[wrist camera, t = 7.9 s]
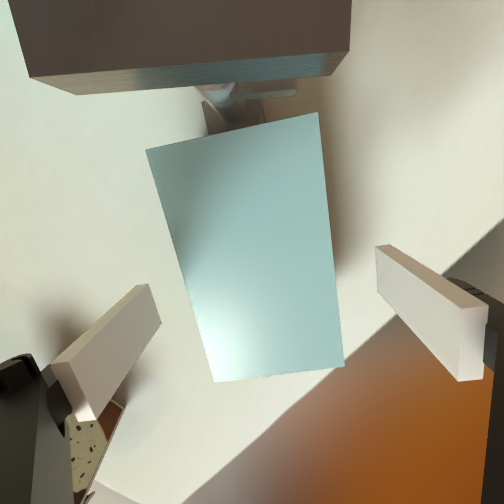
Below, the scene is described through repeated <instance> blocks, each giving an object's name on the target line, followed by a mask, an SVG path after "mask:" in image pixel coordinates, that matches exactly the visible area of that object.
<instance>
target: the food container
mask: <svg viewBox="0 0 504 504" xmlns="http://www.w3.org/2000/svg"><path fill="white" fill-rule="evenodd" d="M124 410H125V408H124V407H123V406H121V405H120V404H118V403H117V402H116V401H114V400H113V399H110V401H109V402H108V404H107V405H106V407H105V408H104V410H103V411H102V413H101V414H100V415H99V417H98V418H97V420H91V421H82V422H78V420H77V418H76V416H75V414H74V412H73V410H72V411H71V412H70V414H69V415H68V416H67V417H66V421H67V423H68V425H69V431H70V447H71V464H72V480H73V496H74V504H88V502H89V501H90V499H91V498H92V497H93V495H94V494H95V491H94V492H92V493H91V494H89V495H87V493H88V491H89V489H90V487H91V485H92V482H93V480H94V478H95V475H96V473H97V471H98V469H99V466H100V464H101V462H102V460H103V457H104V455H105V453H106V451H107V448H108V446H109V444H110V442H111V439H112V437H113V435H114V433H115V430H116V428H117V426H118V423H119V421H120V419H121V417H122V414H123V412H124Z"/></svg>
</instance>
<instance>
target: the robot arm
mask: <svg viewBox="0 0 504 504" xmlns="http://www.w3.org/2000/svg"><path fill="white" fill-rule="evenodd" d="M375 256H376V274H377V291H378V293H379V294H380V295H381V296H382V297H383V299H384V300H385V301H386V302H387V303H388V304H389V305H390V306H391V307H392V309H393V310H394V311H395V312H396V313H397V314H398V315H399V316H400V317H401V318H402V320H403V321H404V322H405V323H406V324H407V325H408V326H409V327H410V329H411V330H412V331H413V332H414V333H415V334H416V335H417V336H418V337H419V338H420V340H421V341H422V342H423V343H424V344H425V345H426V346H427V347H428V349H429V350H430V351H431V352H432V353H433V354H434V355H435V356H436V357H437V359H438V360H439V361H440V362H441V363H442V364H443V365H444V366H445V367H446V368H447V370H448V371H449V372H450V373H451V374H452V375H453V376H454V377H455V379H456V380H457V381H467V380H476V379H483V370H484V364H486V365H487V366H488V367H489V368H490V369H491V370H492V371H493V372H494V380H493V390H492V400H491V409H490V419H489V428H488V438H487V448H486V457H485V467H484V477H483V487H482V497H481V504H504V304H503V303H501V302H500V301H498V300H496V299H494V298H493V297H491V296H489V295H487V294H484V292H482V291H480V290H479V289H476V288H475V287H473V286H472V285H470V284H468V283H466V282H464V281H461V280H458V279H454V278H444V277H442V276H440V275H439V274H437V273H435V272H434V271H432V270H431V269H429V268H427V267H426V266H424V265H422V264H421V263H419V262H418V261H416V260H414V259H413V258H411V257H410V256H408V255H406V254H405V253H403V252H401V251H400V250H398V249H397V248H395V247H393V246H392V245H390V244H388V245H382V246H375ZM161 324H162V323H161V320H160V317H159V314H158V311H157V308H156V305H155V302H154V299H153V296H152V293H151V290H150V287H149V284H143V285H136V286H135V287H134V288H133V289H132V290H131V291H130V292H129V293H127V294H126V295H125V296H124V297H123V298H122V299H121V300H120V301H119V302H118V303H116V304H115V305H114V306H113V307H112V308H111V309H110V310H109V311H108V312H106V313H105V314H104V315H103V316H102V317H101V318H100V319H99V320H98V321H96V322H95V323H94V324H93V325H92V326H91V327H90V328H89V329H88V330H86V331H85V332H84V333H83V334H82V335H81V336H80V337H79V338H78V339H76V340H75V341H74V342H73V343H72V344H71V345H70V346H69V347H68V348H66V349H65V350H64V351H63V352H62V353H61V354H60V355H59V356H58V357H56V358H55V359H54V360H53V361H52V362H51V363H50V364H49V365H48V366H47V367H45V368H44V369H43V370H42V371H41V372H40V370H39V368H38V366H37V364H36V362H35V360H34V358H33V356H32V355H31V354H22V355H18V356H16V357H13V358H11V359H9V360H7V361H4V362H3V363H1V364H0V504H74V496H73V480H72V464H71V447H70V431H69V425H68V423H67V421H66V417H67V416H68V415H69V414H70V412H71V411H72V410H73V412H74V414H75V416H76V418H77V420H78V422H82V421H91V420H97V418H98V417H99V415H100V414H101V413H102V411H103V410H104V408H105V407H106V405H107V404H108V402H109V401H110V399H111V398H112V396H113V395H114V393H115V392H116V390H117V389H118V387H119V386H120V384H121V383H122V381H123V380H124V378H125V377H126V375H127V374H128V372H129V371H130V370H131V368H132V367H133V365H134V364H135V362H136V361H137V359H138V358H139V356H140V355H141V353H142V352H143V350H144V349H145V347H146V346H147V344H148V343H149V341H150V340H151V338H152V337H153V335H154V334H155V332H156V331H157V330H158V328H159V327H160V325H161Z"/></svg>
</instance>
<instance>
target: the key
mask: <svg viewBox="0 0 504 504" xmlns="http://www.w3.org/2000/svg"><path fill="white" fill-rule="evenodd" d="M8 2H9V6H10V9H11V13H12V17H13V20H14V24H15V27H16V31H17V34H18V38H19V42H20V45H21V49H22V52H23V56H24V59H25V63H26V67H27V70H28V74H29V77H30V78H32V79H35V80H37V81H40V82H43V83H45V84H48V85H51V86H53V87H56V88H59V89H61V90H64V91H67V92H69V93H72V94H75V95H86V94H98V93H111V92H124V91H136V90H149V89H162V88H174V87H187V86H194V88H195V89H196V90H197V91H198V92H199V93H200V94H201V95H202V97H203V98H204V99H205V100H206V101H207V102H208V103H209V104H210V106H211V107H212V108H213V109H214V110H215V111H216V112H217V113H218V115H219V116H220V117H221V118H222V119H223V120H224V121H225V122H227V123H229V124H236V123H239V122H240V121H241V120H242V119H243V118H244V116H245V113H246V105H245V101H244V100H249V99H262V98H276V97H289V96H295V94H296V92H297V78H301V77H313V76H326V75H331V74H332V73H333V72H334V70H335V69H336V68H337V66H338V65H339V64H340V62H341V61H342V60H343V58H344V57H345V56H346V54H347V53H348V52H349V44H350V24H351V4H352V0H8Z"/></svg>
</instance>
